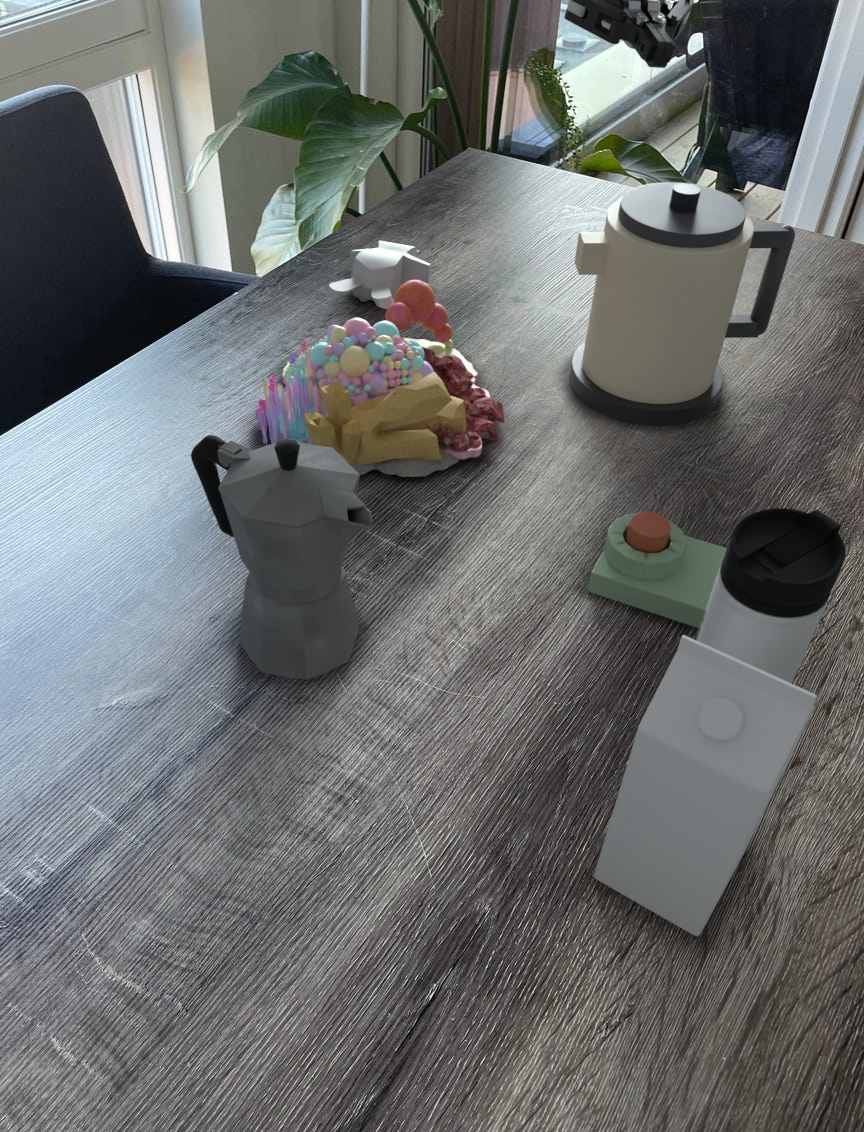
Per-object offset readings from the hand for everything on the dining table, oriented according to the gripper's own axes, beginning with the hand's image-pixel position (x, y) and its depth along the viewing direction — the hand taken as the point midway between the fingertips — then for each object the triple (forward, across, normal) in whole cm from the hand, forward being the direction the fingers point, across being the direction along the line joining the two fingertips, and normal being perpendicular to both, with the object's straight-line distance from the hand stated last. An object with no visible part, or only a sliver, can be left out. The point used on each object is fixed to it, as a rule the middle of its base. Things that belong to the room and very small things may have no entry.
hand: (662, 57), depth 91 cm
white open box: (-9, -19, +32) cm, 38 cm away
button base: (+43, -6, +21) cm, 48 cm away
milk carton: (+66, -18, +19) cm, 71 cm away
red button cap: (+40, -9, +18) cm, 45 cm away
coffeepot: (+41, -38, +25) cm, 61 cm away
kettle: (+14, +4, +25) cm, 29 cm away
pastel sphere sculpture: (+13, -25, +29) cm, 40 cm away
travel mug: (+59, -12, +19) cm, 63 cm away
